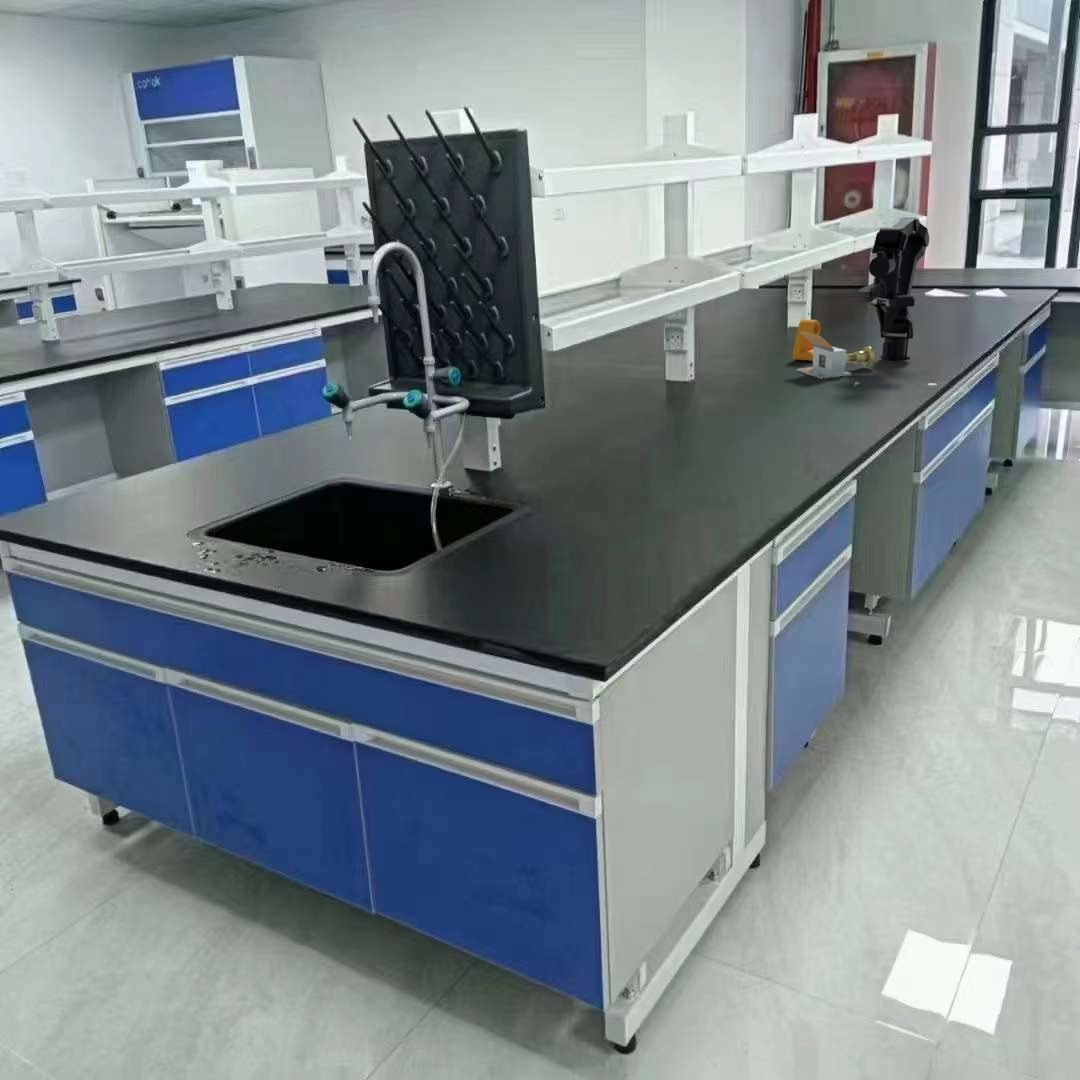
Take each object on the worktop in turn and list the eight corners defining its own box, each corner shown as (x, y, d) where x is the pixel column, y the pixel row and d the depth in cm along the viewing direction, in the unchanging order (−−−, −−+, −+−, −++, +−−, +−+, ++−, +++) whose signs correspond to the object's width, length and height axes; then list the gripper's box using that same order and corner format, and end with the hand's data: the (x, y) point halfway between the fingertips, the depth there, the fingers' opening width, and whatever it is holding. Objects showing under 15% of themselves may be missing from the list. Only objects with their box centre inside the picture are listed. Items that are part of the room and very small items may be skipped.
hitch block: (827, 367, 307) (828, 343, 304) (851, 375, 295) (853, 350, 293) (796, 370, 304) (798, 346, 302) (820, 378, 293) (821, 354, 290)
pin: (863, 363, 306) (864, 344, 304) (874, 367, 301) (875, 347, 299) (822, 368, 302) (823, 349, 300) (833, 371, 297) (834, 352, 295)
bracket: (813, 363, 314) (815, 323, 310) (792, 361, 318) (793, 321, 314) (830, 357, 321) (832, 318, 317) (809, 355, 326) (811, 316, 322)
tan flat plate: (813, 346, 302) (815, 343, 302) (832, 352, 293) (835, 349, 292) (798, 333, 299) (801, 330, 299) (817, 339, 290) (820, 335, 290)
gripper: (845, 272, 302) (842, 326, 307) (883, 278, 285) (879, 336, 290) (879, 269, 305) (875, 323, 310) (918, 275, 288) (913, 332, 293)
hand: (884, 328), depth 301 cm, fingers closed
